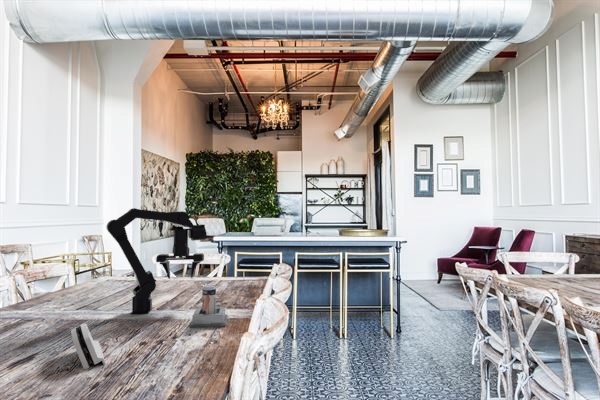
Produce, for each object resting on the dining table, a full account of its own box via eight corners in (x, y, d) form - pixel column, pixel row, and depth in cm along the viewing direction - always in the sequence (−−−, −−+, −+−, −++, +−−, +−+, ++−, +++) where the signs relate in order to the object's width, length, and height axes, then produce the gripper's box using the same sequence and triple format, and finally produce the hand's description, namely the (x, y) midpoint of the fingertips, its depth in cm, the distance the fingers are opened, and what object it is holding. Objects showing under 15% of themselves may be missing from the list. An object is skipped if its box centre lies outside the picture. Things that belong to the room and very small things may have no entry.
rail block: (189, 328, 129) (189, 316, 129) (194, 318, 141) (194, 307, 141) (225, 326, 131) (225, 314, 131) (227, 317, 143) (227, 306, 143)
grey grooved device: (106, 365, 98) (92, 330, 97) (86, 375, 96) (71, 340, 94) (100, 346, 112) (87, 315, 111) (83, 354, 110) (69, 323, 108)
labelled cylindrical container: (200, 318, 137) (200, 285, 137) (213, 316, 139) (213, 284, 140) (204, 322, 133) (204, 287, 133) (217, 320, 135) (217, 286, 135)
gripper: (205, 239, 168) (205, 274, 168) (162, 240, 166) (162, 275, 165) (202, 241, 157) (202, 278, 157) (156, 242, 155) (155, 280, 154)
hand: (180, 278), depth 159 cm, fingers open, 9 cm apart
